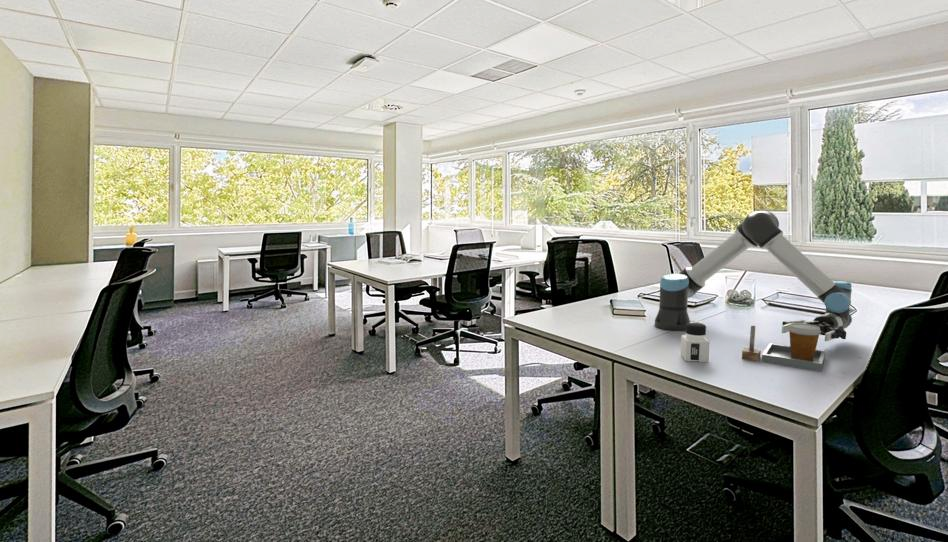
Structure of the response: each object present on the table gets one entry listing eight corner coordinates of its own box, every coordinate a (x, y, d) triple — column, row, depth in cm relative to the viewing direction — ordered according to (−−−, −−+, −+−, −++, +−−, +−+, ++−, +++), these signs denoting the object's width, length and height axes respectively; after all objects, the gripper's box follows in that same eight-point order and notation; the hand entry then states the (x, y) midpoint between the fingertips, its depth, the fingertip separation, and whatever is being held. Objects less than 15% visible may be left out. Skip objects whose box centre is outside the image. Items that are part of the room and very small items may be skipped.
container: (708, 362, 166) (710, 326, 164) (685, 361, 167) (687, 325, 165) (702, 355, 173) (704, 321, 171) (680, 354, 175) (681, 320, 173)
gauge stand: (741, 359, 169) (743, 326, 167) (744, 355, 173) (746, 323, 171) (757, 361, 166) (760, 328, 164) (760, 358, 170) (762, 325, 168)
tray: (761, 361, 166) (762, 354, 166) (768, 349, 179) (769, 343, 179) (821, 371, 155) (822, 363, 155) (824, 358, 168) (825, 351, 168)
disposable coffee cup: (784, 353, 172) (786, 321, 171) (816, 357, 168) (818, 324, 166) (787, 361, 164) (789, 327, 162) (821, 365, 159) (824, 330, 158)
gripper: (866, 340, 173) (844, 351, 161) (790, 327, 193) (765, 336, 181) (868, 320, 172) (846, 330, 160) (791, 309, 192) (767, 317, 180)
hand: (803, 333), depth 170 cm, fingers open, 13 cm apart
